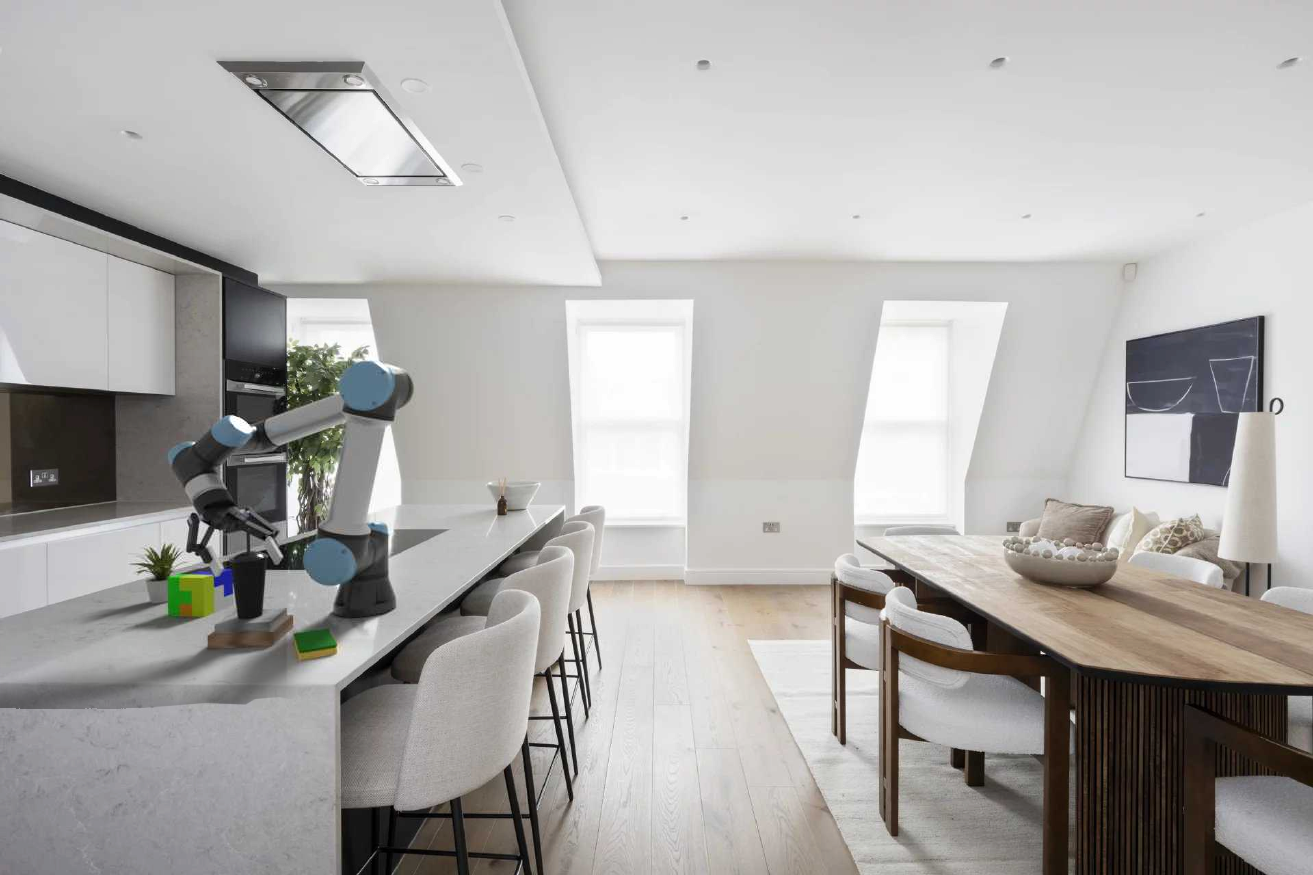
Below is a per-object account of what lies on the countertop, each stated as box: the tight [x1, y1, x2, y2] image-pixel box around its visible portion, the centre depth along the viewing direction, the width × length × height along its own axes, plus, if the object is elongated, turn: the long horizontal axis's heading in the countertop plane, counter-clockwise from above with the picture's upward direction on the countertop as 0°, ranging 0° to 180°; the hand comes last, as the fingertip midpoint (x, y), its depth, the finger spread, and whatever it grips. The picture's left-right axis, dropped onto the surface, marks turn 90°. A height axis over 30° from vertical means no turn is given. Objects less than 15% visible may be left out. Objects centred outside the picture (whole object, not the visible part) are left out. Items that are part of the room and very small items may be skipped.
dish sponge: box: [293, 627, 338, 661], centre depth 144 cm, size 7×14×2 cm, turn 33°
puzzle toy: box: [167, 568, 234, 618], centre depth 173 cm, size 10×10×10 cm
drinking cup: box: [228, 529, 269, 619], centre depth 150 cm, size 8×8×20 cm
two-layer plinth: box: [207, 607, 294, 650], centre depth 151 cm, size 13×13×5 cm
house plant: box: [126, 542, 189, 604], centre depth 183 cm, size 14×14×16 cm
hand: (250, 566), depth 150 cm, fingers open, 13 cm apart
